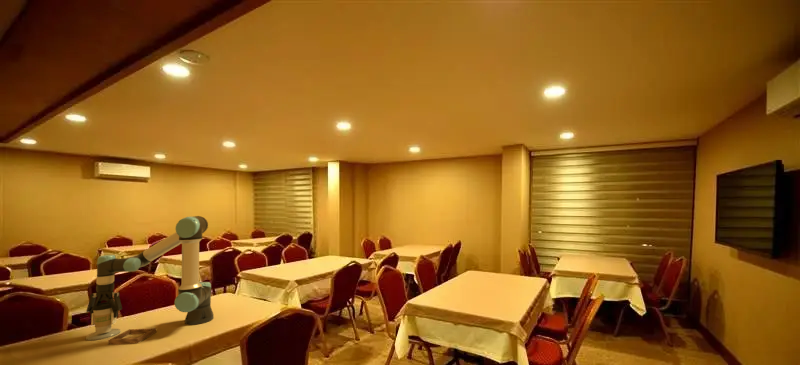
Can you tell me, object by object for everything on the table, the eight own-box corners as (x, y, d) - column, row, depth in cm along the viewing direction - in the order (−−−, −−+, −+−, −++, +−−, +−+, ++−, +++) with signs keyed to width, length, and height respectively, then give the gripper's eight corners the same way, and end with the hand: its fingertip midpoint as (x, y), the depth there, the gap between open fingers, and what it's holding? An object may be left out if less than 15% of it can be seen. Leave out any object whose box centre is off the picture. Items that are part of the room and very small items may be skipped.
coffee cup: (101, 335, 176) (101, 307, 177) (86, 334, 178) (87, 306, 179) (119, 328, 186) (120, 301, 187) (106, 327, 188) (106, 301, 188)
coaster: (126, 329, 189) (126, 327, 189) (106, 339, 175) (106, 337, 175) (100, 330, 188) (100, 329, 188) (78, 341, 174) (78, 339, 174)
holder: (156, 332, 185) (156, 328, 185) (137, 343, 171) (137, 338, 171) (129, 333, 184) (129, 329, 184) (108, 344, 170) (108, 340, 170)
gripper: (131, 280, 188) (130, 320, 187) (90, 282, 186) (88, 322, 185) (121, 284, 181) (119, 325, 179) (78, 285, 179) (76, 327, 178)
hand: (103, 324), depth 182 cm, fingers closed on coffee cup, 10 cm apart
